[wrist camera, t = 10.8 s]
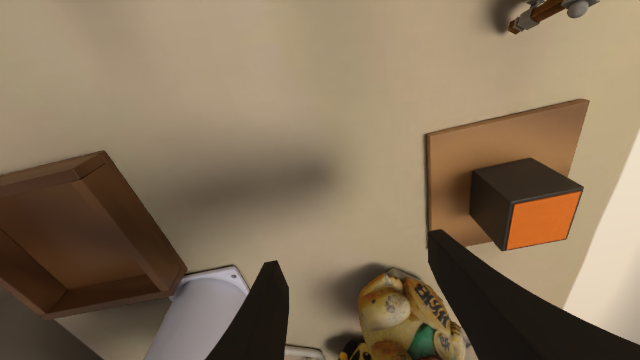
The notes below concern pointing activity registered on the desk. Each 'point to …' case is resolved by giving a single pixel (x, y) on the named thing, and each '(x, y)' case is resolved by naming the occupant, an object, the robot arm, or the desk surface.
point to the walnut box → (81, 240)
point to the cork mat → (494, 159)
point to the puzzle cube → (523, 203)
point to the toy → (355, 351)
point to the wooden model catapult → (548, 12)
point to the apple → (470, 354)
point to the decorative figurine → (407, 320)
